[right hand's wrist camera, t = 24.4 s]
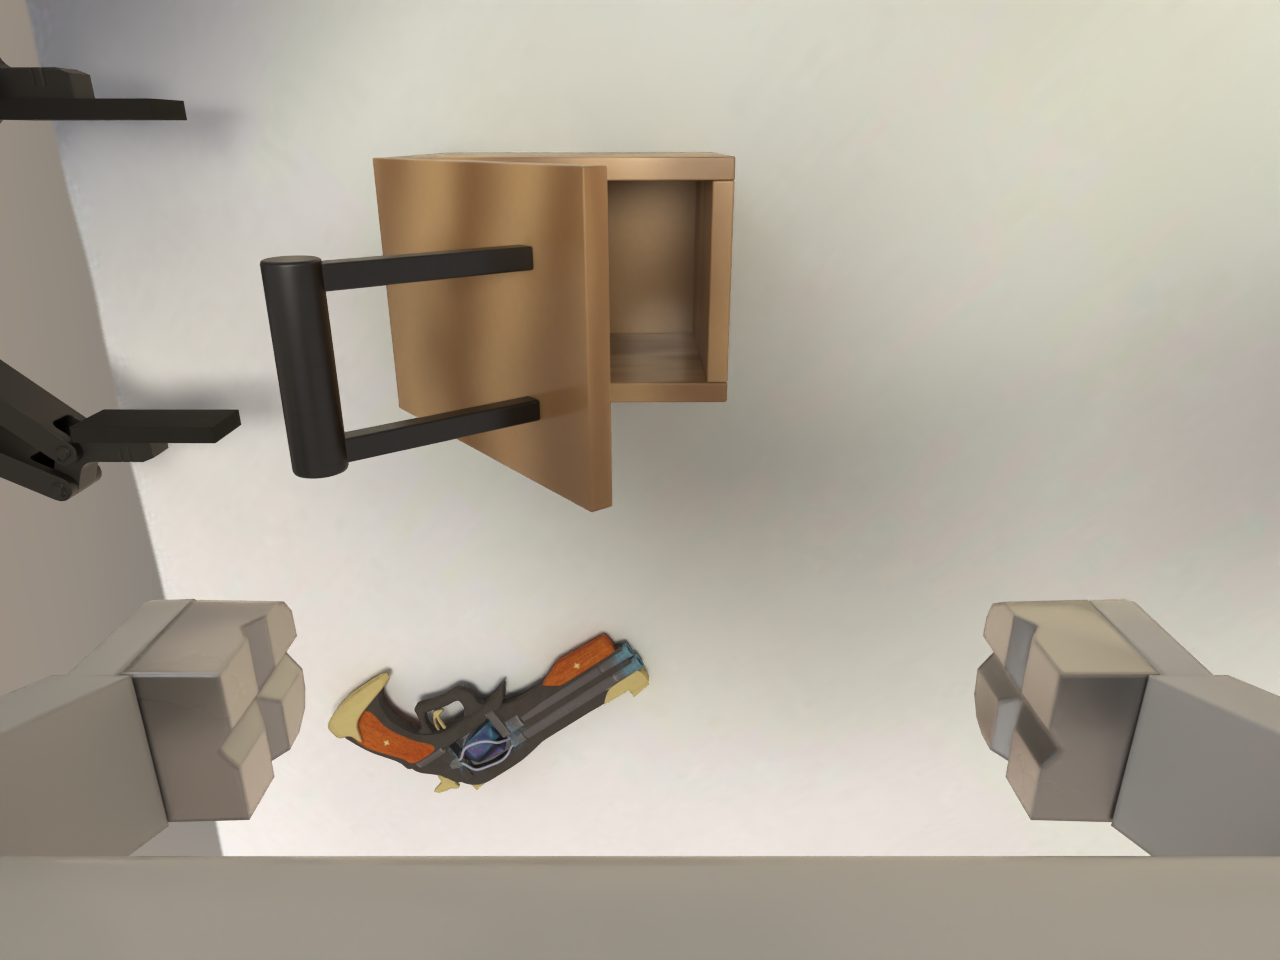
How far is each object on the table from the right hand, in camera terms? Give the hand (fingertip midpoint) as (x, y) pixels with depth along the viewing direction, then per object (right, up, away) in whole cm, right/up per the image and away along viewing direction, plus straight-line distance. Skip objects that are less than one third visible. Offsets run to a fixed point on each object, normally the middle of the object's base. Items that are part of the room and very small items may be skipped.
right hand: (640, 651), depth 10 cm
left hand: (-19, +11, +28) cm, 36 cm away
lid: (-5, +8, +20) cm, 22 cm away
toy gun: (-10, -11, +46) cm, 48 cm away
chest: (-3, +14, +36) cm, 39 cm away
